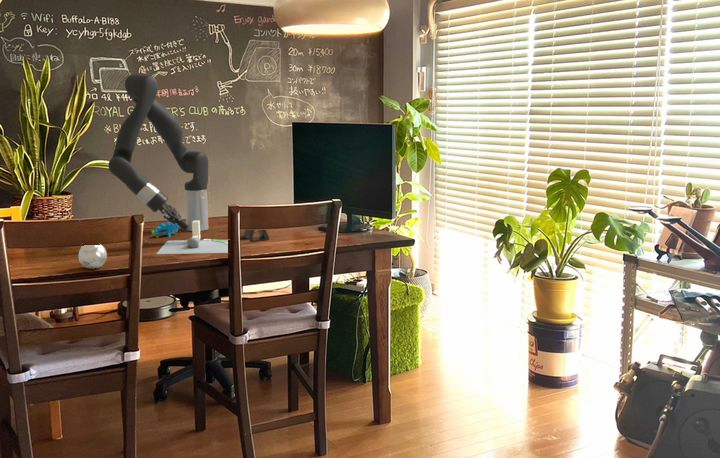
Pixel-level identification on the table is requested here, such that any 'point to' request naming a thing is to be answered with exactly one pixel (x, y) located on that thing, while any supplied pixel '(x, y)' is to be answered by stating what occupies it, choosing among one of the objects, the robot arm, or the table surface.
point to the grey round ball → (92, 256)
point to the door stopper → (263, 236)
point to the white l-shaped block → (194, 235)
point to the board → (204, 247)
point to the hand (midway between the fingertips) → (186, 228)
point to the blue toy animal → (165, 229)
